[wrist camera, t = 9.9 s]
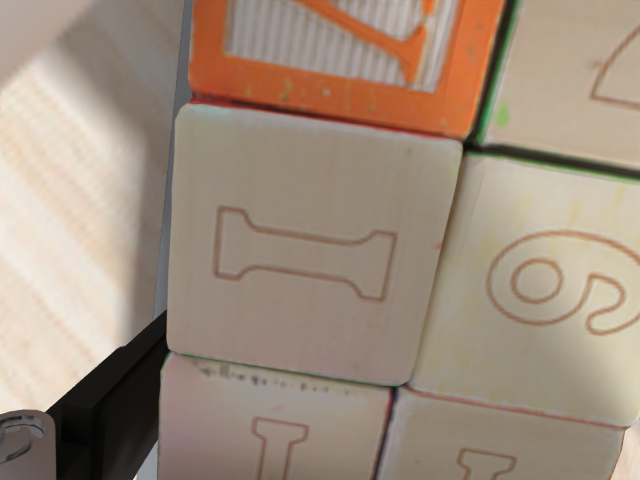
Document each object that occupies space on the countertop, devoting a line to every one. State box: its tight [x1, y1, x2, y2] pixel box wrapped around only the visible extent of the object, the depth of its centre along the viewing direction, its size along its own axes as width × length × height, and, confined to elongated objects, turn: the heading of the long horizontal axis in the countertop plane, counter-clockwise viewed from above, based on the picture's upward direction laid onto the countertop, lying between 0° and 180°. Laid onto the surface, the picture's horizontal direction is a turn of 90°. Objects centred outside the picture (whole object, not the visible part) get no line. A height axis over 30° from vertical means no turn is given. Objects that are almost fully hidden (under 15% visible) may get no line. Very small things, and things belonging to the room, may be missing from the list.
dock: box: [137, 0, 193, 480], centre depth 17 cm, size 14×26×5 cm, turn 168°
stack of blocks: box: [157, 0, 640, 480], centre depth 11 cm, size 21×6×12 cm, turn 170°
